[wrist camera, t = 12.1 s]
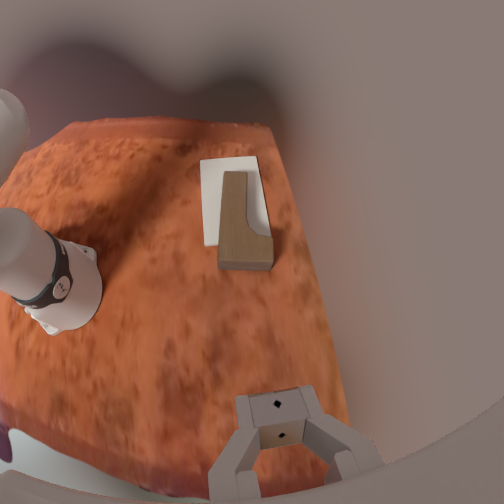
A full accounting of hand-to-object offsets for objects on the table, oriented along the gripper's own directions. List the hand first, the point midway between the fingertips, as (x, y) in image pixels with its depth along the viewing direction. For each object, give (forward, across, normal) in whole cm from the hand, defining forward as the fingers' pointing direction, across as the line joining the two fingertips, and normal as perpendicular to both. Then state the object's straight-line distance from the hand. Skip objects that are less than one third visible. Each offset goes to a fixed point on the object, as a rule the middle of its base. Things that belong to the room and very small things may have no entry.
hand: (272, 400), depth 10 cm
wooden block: (+35, -3, +10) cm, 37 cm away
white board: (+49, -2, +1) cm, 49 cm away
